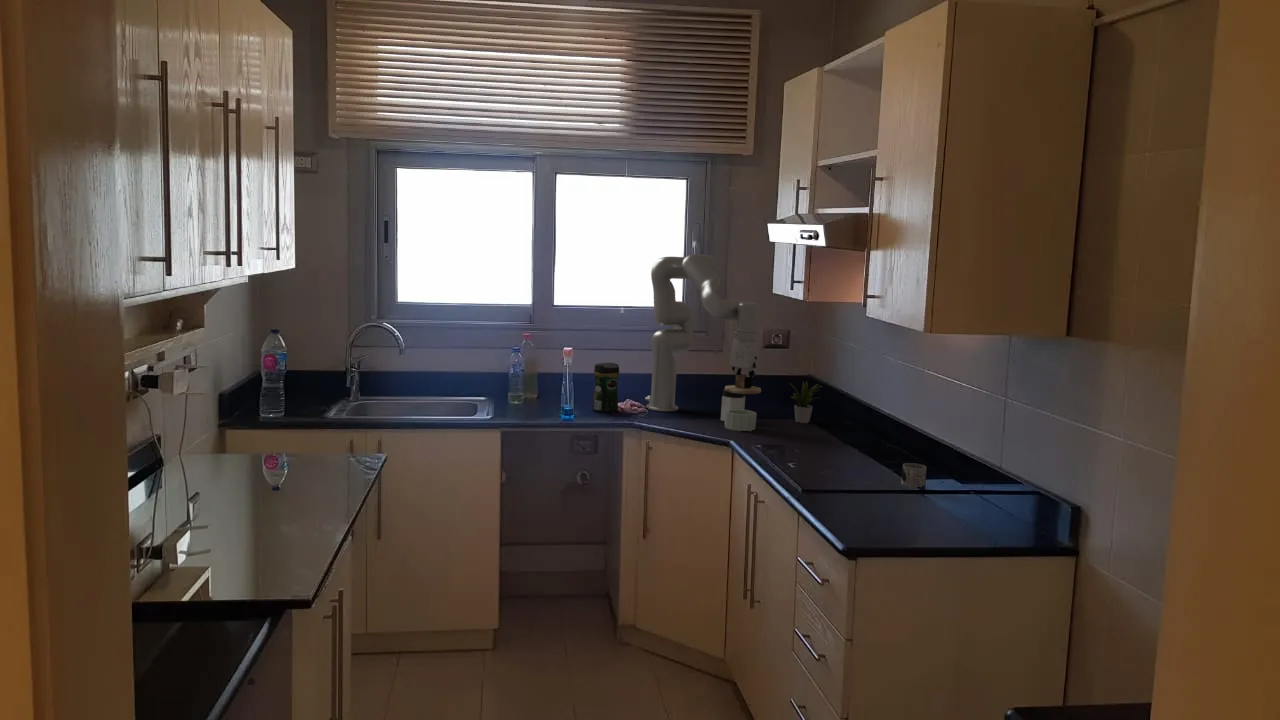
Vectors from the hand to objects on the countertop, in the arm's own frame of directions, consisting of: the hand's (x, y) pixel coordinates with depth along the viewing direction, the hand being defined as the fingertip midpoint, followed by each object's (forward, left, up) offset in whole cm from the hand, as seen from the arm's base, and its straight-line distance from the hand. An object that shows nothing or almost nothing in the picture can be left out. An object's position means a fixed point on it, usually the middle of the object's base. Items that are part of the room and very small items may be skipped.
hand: (743, 386), depth 356 cm
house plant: (+4, +33, -16) cm, 36 cm away
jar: (-12, +9, -16) cm, 21 cm away
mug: (+84, -20, -16) cm, 88 cm away
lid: (0, 0, -2) cm, 2 cm away
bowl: (0, 0, -16) cm, 16 cm away
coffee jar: (-50, -22, -16) cm, 57 cm away
